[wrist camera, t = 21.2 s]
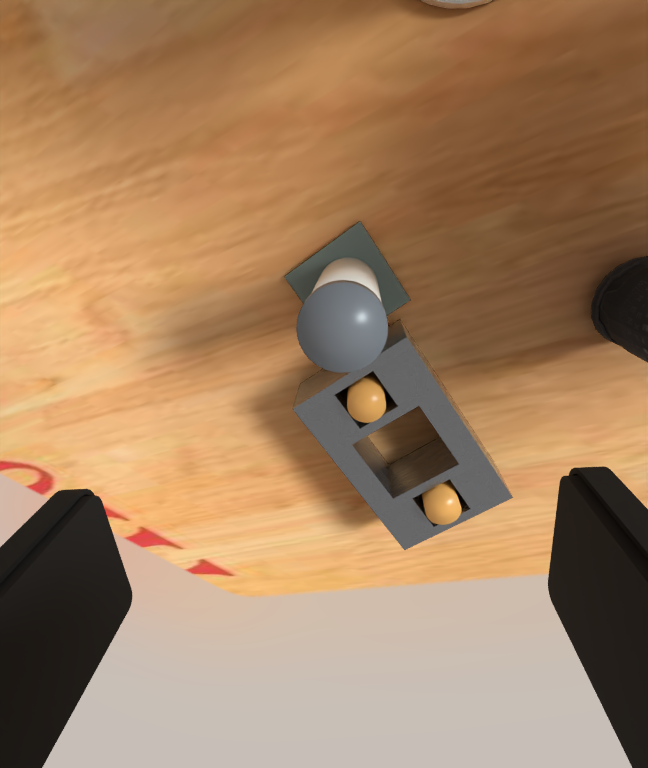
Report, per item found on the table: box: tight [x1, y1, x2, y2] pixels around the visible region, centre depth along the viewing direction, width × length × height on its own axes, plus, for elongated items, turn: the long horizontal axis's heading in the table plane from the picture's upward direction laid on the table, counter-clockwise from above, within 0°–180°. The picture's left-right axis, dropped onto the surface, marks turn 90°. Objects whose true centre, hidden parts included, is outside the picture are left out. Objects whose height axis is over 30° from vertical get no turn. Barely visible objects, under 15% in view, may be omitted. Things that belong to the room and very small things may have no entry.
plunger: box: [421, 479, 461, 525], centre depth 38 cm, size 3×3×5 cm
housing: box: [293, 320, 513, 550], centre depth 37 cm, size 16×10×5 cm, turn 35°
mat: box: [285, 221, 410, 316], centre depth 35 cm, size 7×7×1 cm
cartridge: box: [297, 257, 388, 373], centre depth 29 cm, size 5×5×12 cm
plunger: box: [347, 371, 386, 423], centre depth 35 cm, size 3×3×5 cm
